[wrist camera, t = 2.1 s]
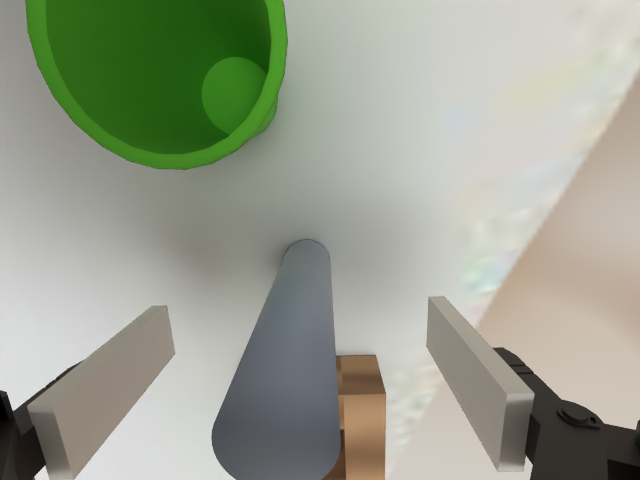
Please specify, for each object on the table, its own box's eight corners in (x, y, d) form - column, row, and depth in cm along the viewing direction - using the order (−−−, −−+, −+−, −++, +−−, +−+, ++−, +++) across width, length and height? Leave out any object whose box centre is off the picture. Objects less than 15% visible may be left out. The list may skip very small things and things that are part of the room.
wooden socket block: (249, 358, 26) (235, 397, 22) (375, 355, 26) (385, 394, 22) (261, 457, 29) (250, 510, 24) (375, 455, 29) (384, 508, 24)
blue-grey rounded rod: (282, 240, 24) (203, 389, 8) (329, 238, 23) (339, 386, 8) (286, 283, 24) (220, 493, 9) (330, 282, 24) (342, 491, 9)
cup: (190, 172, 22) (68, 180, 12) (163, 33, 20) (-19, -113, 10) (311, 160, 22) (299, 158, 11) (297, 17, 20) (267, -151, 9)
